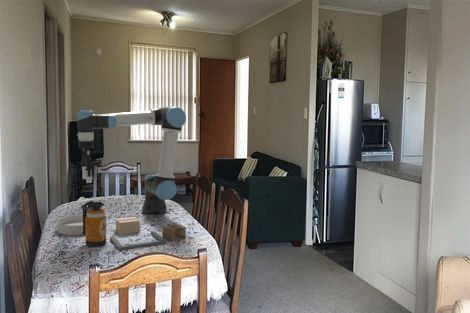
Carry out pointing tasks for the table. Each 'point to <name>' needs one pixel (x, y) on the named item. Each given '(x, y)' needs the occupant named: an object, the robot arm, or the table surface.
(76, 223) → the dish
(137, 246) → the dark grey flat u-shape
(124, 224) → the carton
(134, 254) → the table surface
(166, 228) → the walnut box
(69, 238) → the table surface
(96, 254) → the table surface
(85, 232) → the canister
